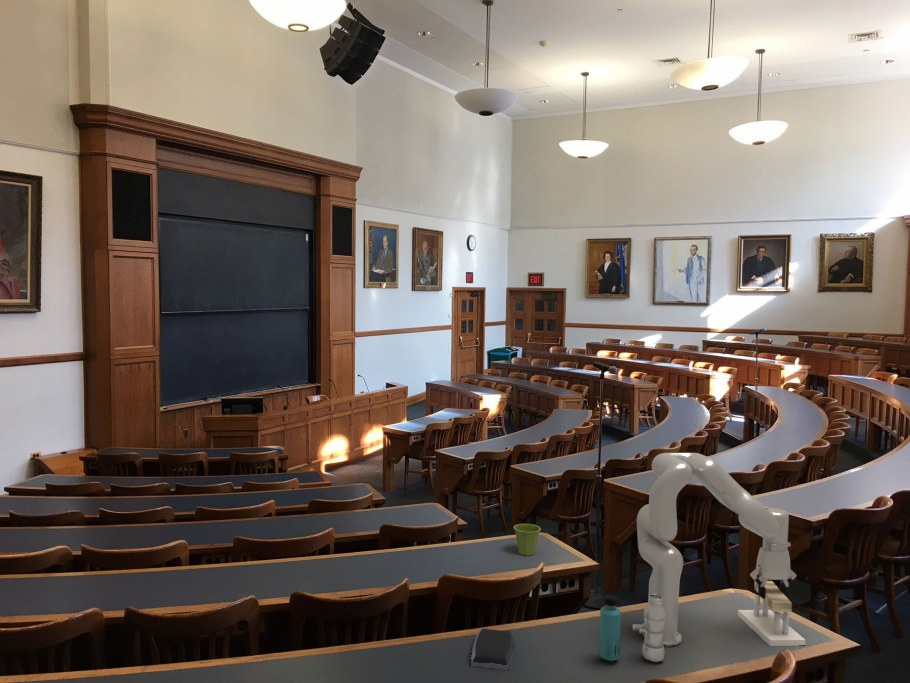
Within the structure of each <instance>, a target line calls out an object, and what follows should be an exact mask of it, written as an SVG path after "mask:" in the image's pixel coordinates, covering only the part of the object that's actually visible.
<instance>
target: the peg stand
mask: <svg viewBox="0 0 910 683" xmlns="http://www.w3.org/2000/svg"><path fill="white" fill-rule="evenodd" d="M753 602H754V603H753V609H738V610H737V616H738V617H739V618H740V619H741V620H742V621H743V622H744V623H745V624H746V625H747V626H749V628H750V629H751V630H752V631H753V632H755V633H756V634H757V636H759V637H760V638H761V639H762V640H763V641H764V642H765V643H766V644H767V645H768V646H770V647H800V646H799V645H805V646H806V643H807V642H806V639H805V638H804V637H803V636H801V634H799V633H798V632H797V631H796V630H795V629H793V628H792V627H791V626H790V625H789V624H790V612H782V614H783V615H782V618H781V613H780V611H772V610H771V609H769V606H768V605H767V604H766V602H765V601H764V600H763V599H762V609H760V607H761V597H760V596H759V594H755V595H754V599H753Z"/></svg>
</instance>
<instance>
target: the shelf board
mask: <svg viewBox="0 0 910 683" xmlns="http://www.w3.org/2000/svg"><path fill="white" fill-rule="evenodd" d="M773 581H774V580H767V582H766V584H765V586H764V587H765V588H766V593H765V599H763V598H761V599H762V601H763V600H764V601H765V602H766V604H767V605H768V608H770V609H769V610H771V611H772V612H779V613H780V612H782V613H783V612H788V613H792V612H793V611H792V608H793V603H792V601H790V599H789V598H788V597H787V595H786V596H785V595H784V594H783V593H782V592H781V590H780V589H779V587H778V586H777V585H776V584H775V582H773ZM754 590H755V591H756V592H757V593H758V584H757V582H756V581H755V580H754Z"/></svg>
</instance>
